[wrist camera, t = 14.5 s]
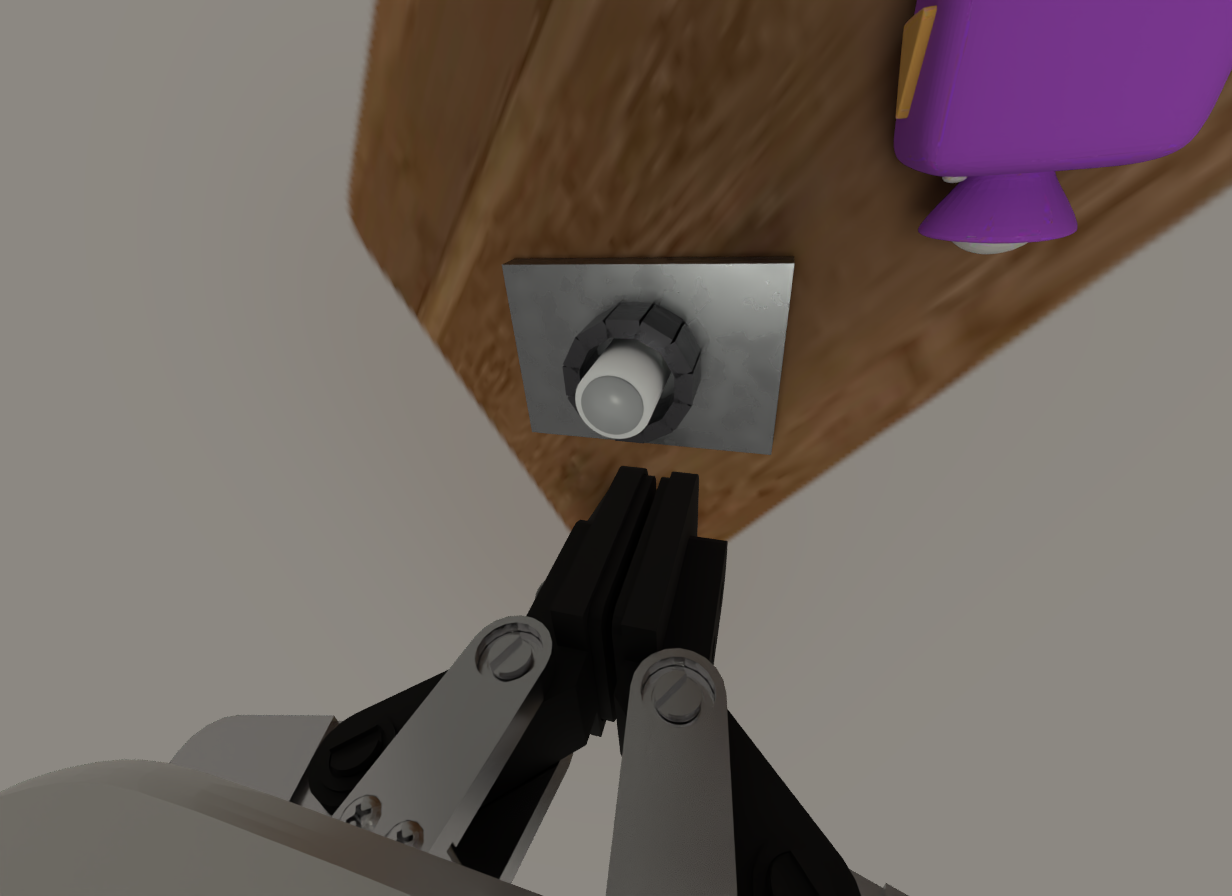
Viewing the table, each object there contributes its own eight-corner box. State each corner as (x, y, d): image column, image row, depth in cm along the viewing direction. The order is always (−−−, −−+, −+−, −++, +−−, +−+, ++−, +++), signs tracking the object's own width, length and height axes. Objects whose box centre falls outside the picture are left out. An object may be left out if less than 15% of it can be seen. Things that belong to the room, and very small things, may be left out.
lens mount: (514, 258, 37) (473, 278, 32) (794, 256, 32) (795, 280, 27) (541, 420, 45) (511, 456, 40) (771, 441, 39) (769, 485, 34)
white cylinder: (600, 332, 36) (564, 373, 30) (666, 324, 34) (642, 366, 29) (615, 393, 39) (584, 442, 33) (677, 388, 37) (656, 439, 31)
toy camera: (883, 252, 30) (917, 299, 22) (877, -35, 24) (921, -113, 16) (1112, 204, 26) (1254, 240, 18) (1176, -159, 20) (1436, -346, 12)
